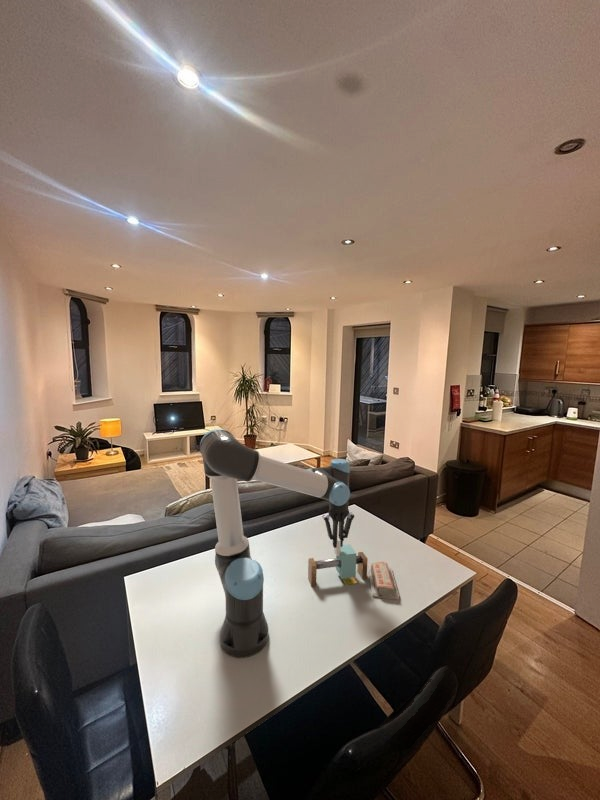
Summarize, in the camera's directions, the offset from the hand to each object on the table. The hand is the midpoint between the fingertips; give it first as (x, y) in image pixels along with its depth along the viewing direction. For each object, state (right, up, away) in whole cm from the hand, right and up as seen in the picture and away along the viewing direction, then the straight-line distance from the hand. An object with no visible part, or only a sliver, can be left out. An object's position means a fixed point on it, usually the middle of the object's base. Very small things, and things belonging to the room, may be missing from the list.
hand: (337, 554), depth 133 cm
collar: (+4, -8, +2) cm, 9 cm away
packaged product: (+18, -12, -1) cm, 21 cm away
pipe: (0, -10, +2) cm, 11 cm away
